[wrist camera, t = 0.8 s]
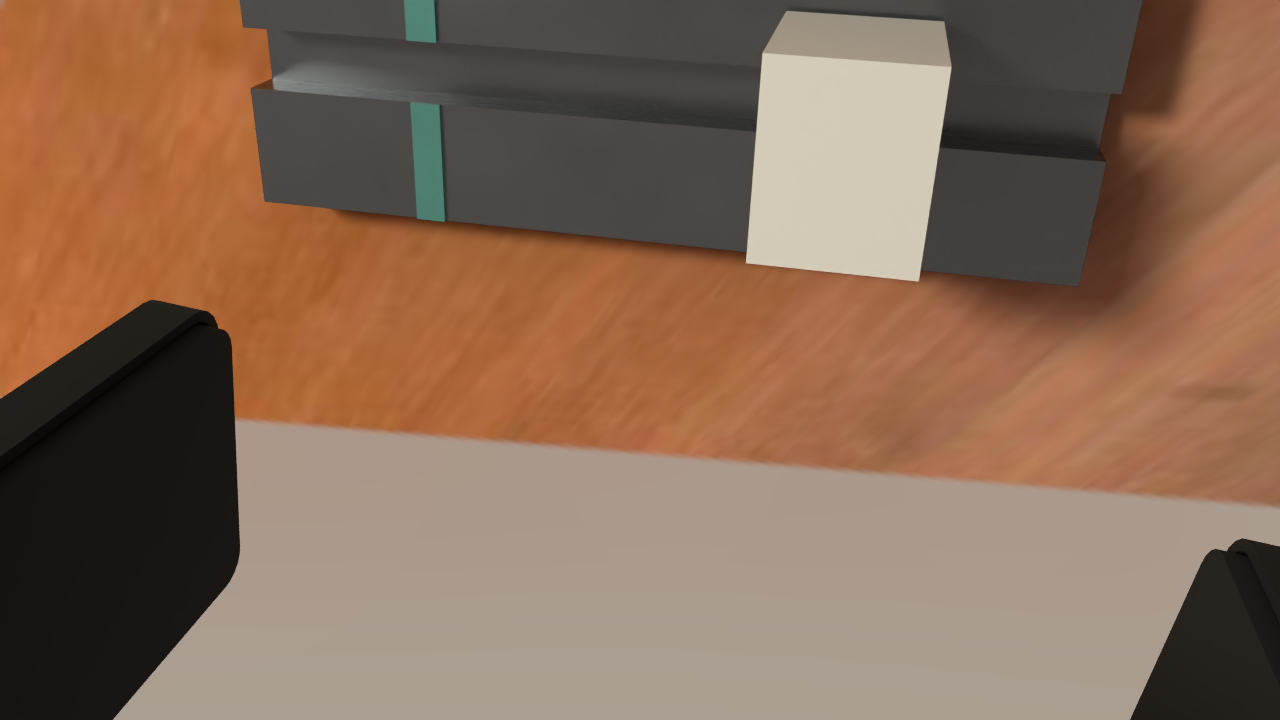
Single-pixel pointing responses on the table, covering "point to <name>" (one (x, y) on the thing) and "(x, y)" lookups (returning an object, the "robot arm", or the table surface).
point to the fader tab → (847, 143)
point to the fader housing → (671, 117)
